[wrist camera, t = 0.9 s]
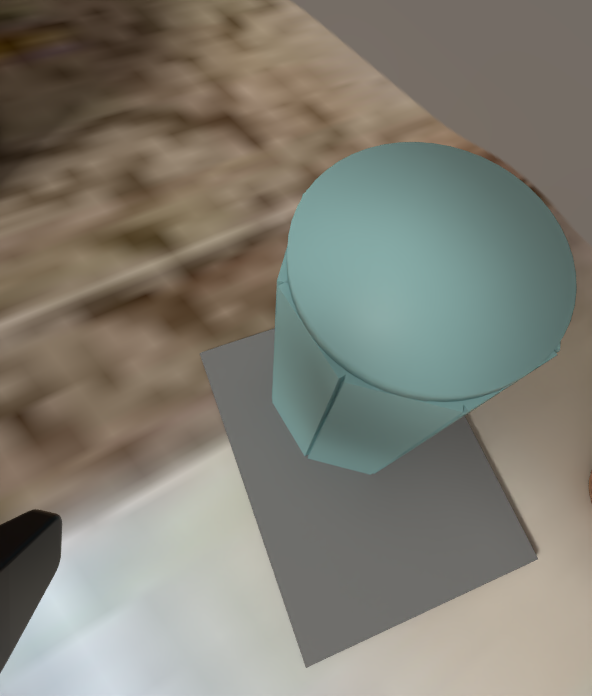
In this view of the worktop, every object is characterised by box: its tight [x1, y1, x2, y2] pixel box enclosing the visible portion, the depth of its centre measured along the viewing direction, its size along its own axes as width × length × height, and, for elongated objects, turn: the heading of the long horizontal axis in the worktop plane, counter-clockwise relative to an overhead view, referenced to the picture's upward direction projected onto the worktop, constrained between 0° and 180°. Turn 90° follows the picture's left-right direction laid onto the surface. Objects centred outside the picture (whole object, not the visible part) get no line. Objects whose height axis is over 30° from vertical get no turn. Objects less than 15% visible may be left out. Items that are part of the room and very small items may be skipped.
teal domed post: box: [272, 142, 576, 475], centre depth 17 cm, size 7×7×11 cm
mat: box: [200, 328, 538, 668], centre depth 21 cm, size 13×10×1 cm
